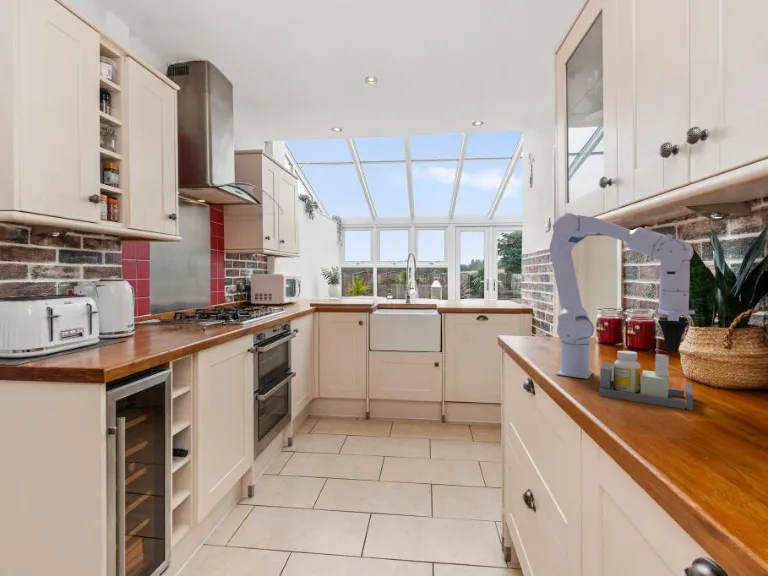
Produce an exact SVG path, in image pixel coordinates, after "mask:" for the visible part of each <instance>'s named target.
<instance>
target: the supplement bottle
mask: <svg viewBox="0 0 768 576" xmlns="http://www.w3.org/2000/svg"><path fill="white" fill-rule="evenodd" d="M616 357H617V359H616V360H615V361H614V362H613V363H614V379H613V380H614V381H613V390H616V391H623V392H630V393H636V394H641V391H640V384H641V363H639V362H638V361H637V360H638V352H637V351H631V350H618V351H617V354H616Z"/></svg>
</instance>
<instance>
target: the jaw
mask: <svg viewBox="0 0 768 576" xmlns="http://www.w3.org/2000/svg"><path fill="white" fill-rule="evenodd" d="M669 358H670V355H669V354H661V353H660V354H659V353H656V354H655V365H654V366H655V369H654V371H652V370H647V369H646V370H644V369H643V370H642V373H641V374H640V384H641V391H640V394H643V395H650V396H657V397H664V398H669V395H668V388H669V379H670V378H669V377H670V375H669V374H670V373H669V365H670V364H669V363H670V362H669V360H670V359H669Z"/></svg>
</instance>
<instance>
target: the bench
mask: <svg viewBox="0 0 768 576" xmlns="http://www.w3.org/2000/svg"><path fill="white" fill-rule="evenodd" d="M599 374H600V378H599V382H600V383H599V389H598V396H599V397H605V398H611V399H612V398H613V399H619V400H626V401H632V402H638V403H643V404H651V405H656V406H663V407H669V408H670V407H671V408H676V409H682V410H685V409H686V410H688V411H689V410H690V411H693V410H694V392H693V386H692V384H691V383H685V389H680V388H673V387H668V396H670V397H671V396H672V397H679V398H685V400H683V399H677V398H669V397H668V398H664V397H657V396H650V395H643V394H641V393H640V394H636V393H630V392H623V391H616V390H613V381H614V380H613V379H614V362H604V364H603V365H602V366H601V367H600V372H599ZM640 392H641V383H640Z"/></svg>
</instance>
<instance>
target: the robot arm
mask: <svg viewBox="0 0 768 576" xmlns="http://www.w3.org/2000/svg"><path fill="white" fill-rule="evenodd" d="M552 230H553V232H552V235H551V239H550V244H549V252H550V254H549V255H550V260H551V263H552V269H553V274H554V279H555V284H556V289H557V293H558V294H557V295H558V299H559V304H560V310H559V313H558V315H557V327H556V333H557V335H558V338H559V339H560V364H559V365H560V369H559V370H558V371H557V372H556V373H555V374H556V375H558V376H563V377H572V378H579V379H586V380H587V379H589V378H590V377H591V375H592V374H593V373H594V370H593V369H592V370H591V369H590V361H591V360H590V359H591V358H590V356H591V354H590V353H591V351H590V345H591V344H590V338H591V337H592V336H593V335H594V332H595V326H594V324H593V322H592V321H591V320H590V318H589V314H588V312H587V310H586V309H585V308H584V306H583V304H582V300H581V296H580V295H581V294H580V289H579V283H578V280H577V275H576V269H575V265H574V260H573V255H572V251H573V250H574V248H575V247H576V246H577V244H579V243H580V242H582V241H583V240H584V239H586V238H587V237H588V236H590V235H593V236H594V235H597V234H600V235H604V236H607V237H610V238H613V239H616V240H619V241H622V242H625V243H626V245H627V247H628V249H629V250H631V251H634V252H637V253H639V254H643V255H646V256H648V257H651V258H654V259H658V260H659V261H660V271H659V293H658V309H657V313H658V314H662V315H666V316H667V317H665V316H664V317H663V316H659V317H658V319H657V322H658V324H659V326H660V328H661V331H662V334H663V338H664V339H663V340H664V345H665V346H664V347H665V350H666V352H672V353H678V352H679V351H680V350H679V349H680V347H681V342H682V341H681V340H682V339H683V338H682V337H683V335H684V332H685V330H686V328H687V327H688V325H690V324H689V322H688V317H683V316H686V315H694V314H696V312H695V310H692V309H691V310H689V309H690V307H689V304H690V303H689V302H690V278H691V275H690V274H691V272H690V265H691V263H690V262H691V260H692V258H693V257H694V256H693V255H694V248H693V246H692V244H691V243H689V242H688V241H685V239H676V238H675V239H674V238H673V237H674V235H673V234H670V233H669V234H662V233H660V232H657V231H653V228H652V227H650V226H649V227H648V226H645V227H644V228H643V227H641V226H640V227H637V228H635V229H633V230H632V229H629V228H627V227H623V226H620V225H618V224H615V223H613V222H610V221H608V220H605V219H602V218H598V217H592V216H587V215H580V214H574V213H571V212H566V213H563V214H561V215H560V216H559V217H558V218H557V219H556V220H555V222H554V223H553V224H552Z"/></svg>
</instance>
